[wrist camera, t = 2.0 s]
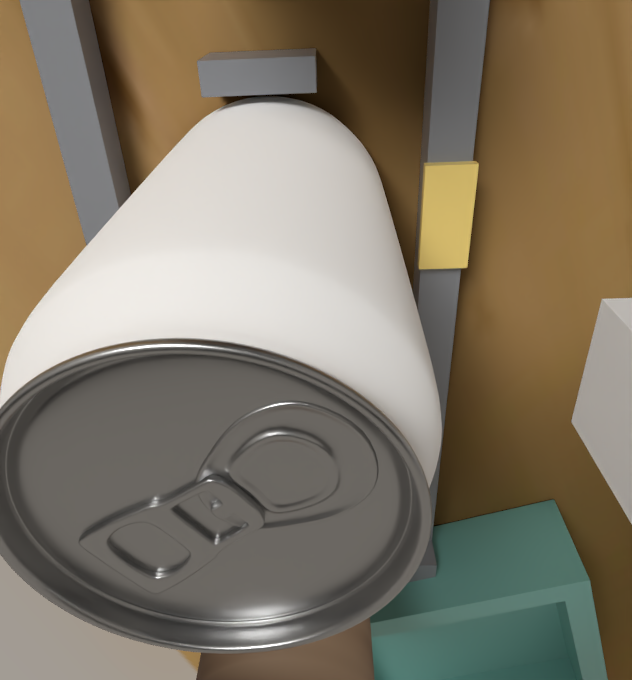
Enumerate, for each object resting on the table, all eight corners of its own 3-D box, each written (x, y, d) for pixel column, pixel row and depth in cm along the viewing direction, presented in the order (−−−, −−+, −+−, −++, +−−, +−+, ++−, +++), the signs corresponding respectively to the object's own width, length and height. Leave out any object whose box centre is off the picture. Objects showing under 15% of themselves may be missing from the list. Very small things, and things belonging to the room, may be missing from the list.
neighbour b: (253, 407, 21) (214, 643, 14) (377, 439, 22) (404, 678, 15) (223, 495, 24) (177, 734, 16) (335, 520, 25) (341, 760, 17)
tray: (288, 559, 26) (283, 640, 23) (554, 499, 24) (589, 579, 21) (366, 686, 32) (371, 765, 29) (585, 648, 30) (616, 729, 27)
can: (423, 227, 17) (560, 567, 7) (262, 333, 20) (197, 711, 10) (292, 37, 15) (224, 166, 5) (122, 186, 17) (-178, 494, 7)
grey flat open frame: (-136, -690, 9) (-265, -876, 7) (557, -748, 9) (626, -964, 7) (179, 539, 25) (167, 587, 23) (427, 535, 25) (436, 583, 23)
